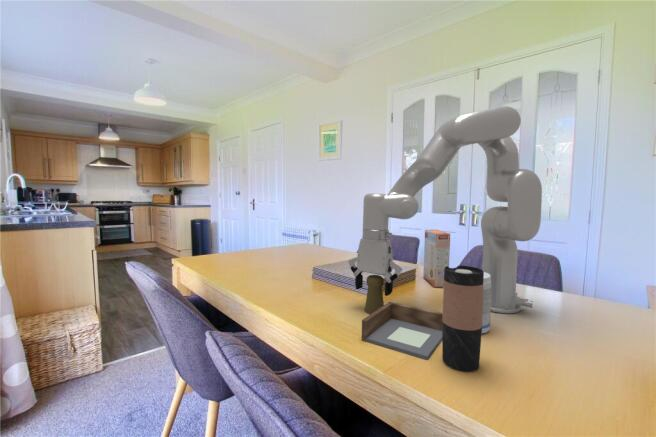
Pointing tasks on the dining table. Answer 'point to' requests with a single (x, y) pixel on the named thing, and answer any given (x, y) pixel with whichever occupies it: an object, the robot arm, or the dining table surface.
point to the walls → (400, 317)
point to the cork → (374, 293)
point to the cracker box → (436, 256)
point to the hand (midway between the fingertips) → (373, 291)
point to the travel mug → (462, 317)
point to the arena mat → (407, 338)
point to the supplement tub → (486, 303)
